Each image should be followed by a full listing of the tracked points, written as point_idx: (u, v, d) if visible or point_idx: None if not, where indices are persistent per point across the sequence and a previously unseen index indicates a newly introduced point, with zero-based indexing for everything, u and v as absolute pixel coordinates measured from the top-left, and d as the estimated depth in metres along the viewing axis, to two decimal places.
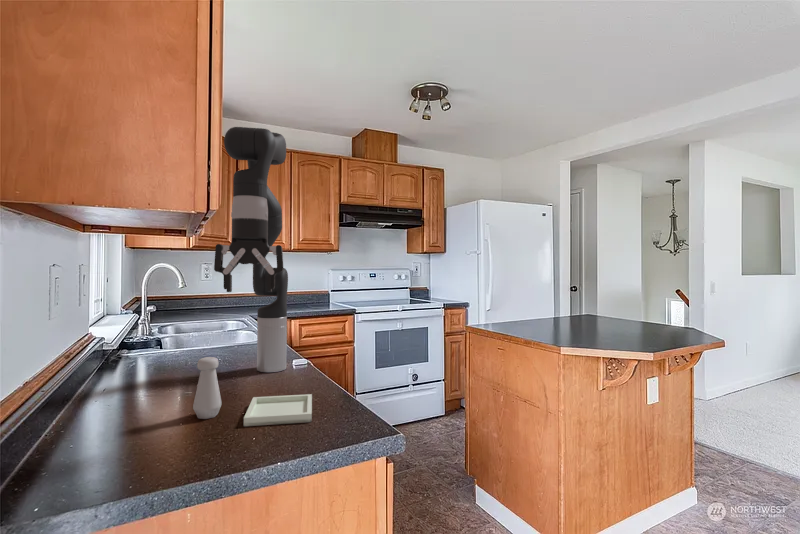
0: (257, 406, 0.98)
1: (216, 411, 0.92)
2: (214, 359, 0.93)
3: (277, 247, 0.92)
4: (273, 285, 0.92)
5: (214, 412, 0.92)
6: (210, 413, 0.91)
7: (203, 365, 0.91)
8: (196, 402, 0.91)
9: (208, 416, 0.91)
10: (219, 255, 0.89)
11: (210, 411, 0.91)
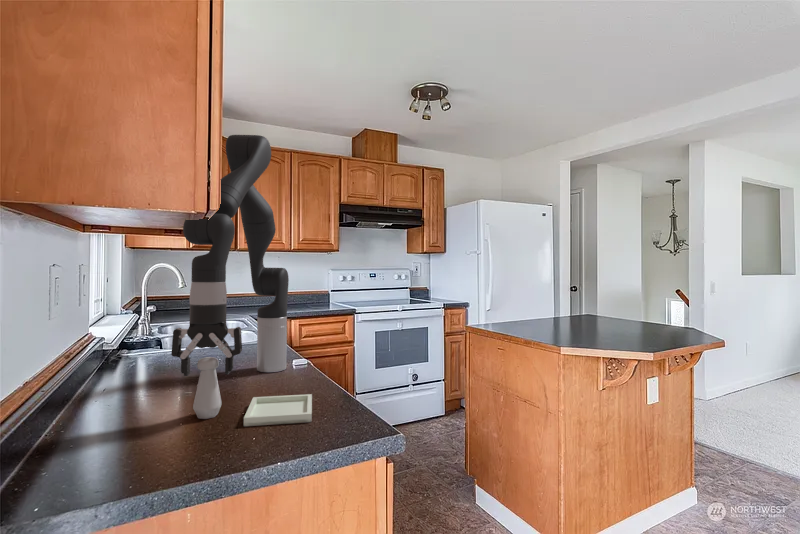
0: (257, 406, 0.98)
1: (216, 411, 0.92)
2: (214, 359, 0.93)
3: (235, 330, 0.93)
4: (231, 367, 0.93)
5: (214, 412, 0.92)
6: (210, 413, 0.91)
7: (203, 365, 0.91)
8: (196, 402, 0.91)
9: (208, 416, 0.91)
10: (176, 340, 0.91)
11: (210, 411, 0.91)
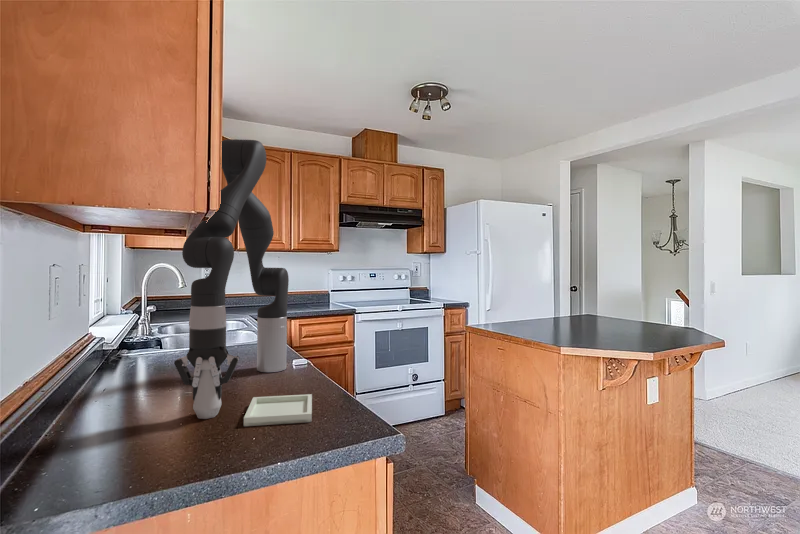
0: (257, 406, 0.98)
1: (216, 411, 0.92)
2: None
3: (233, 359, 0.93)
4: (219, 396, 0.93)
5: (214, 412, 0.92)
6: (210, 413, 0.91)
7: (203, 365, 0.91)
8: (196, 402, 0.91)
9: (208, 416, 0.91)
10: (182, 369, 0.91)
11: (210, 411, 0.91)
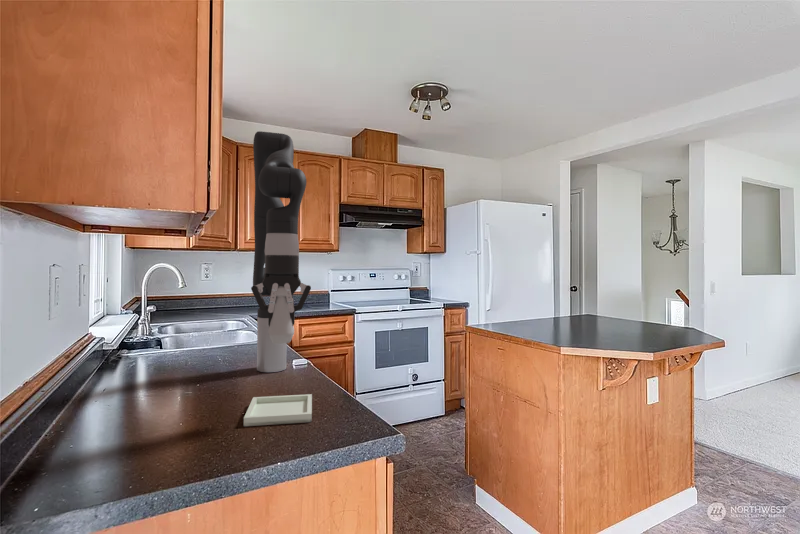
0: (257, 406, 0.98)
1: (290, 337, 0.95)
2: None
3: (307, 287, 0.95)
4: (293, 322, 0.95)
5: (289, 337, 0.94)
6: (285, 338, 0.93)
7: (279, 291, 0.93)
8: (272, 327, 0.93)
9: (283, 341, 0.94)
10: (258, 295, 0.93)
11: (286, 335, 0.93)
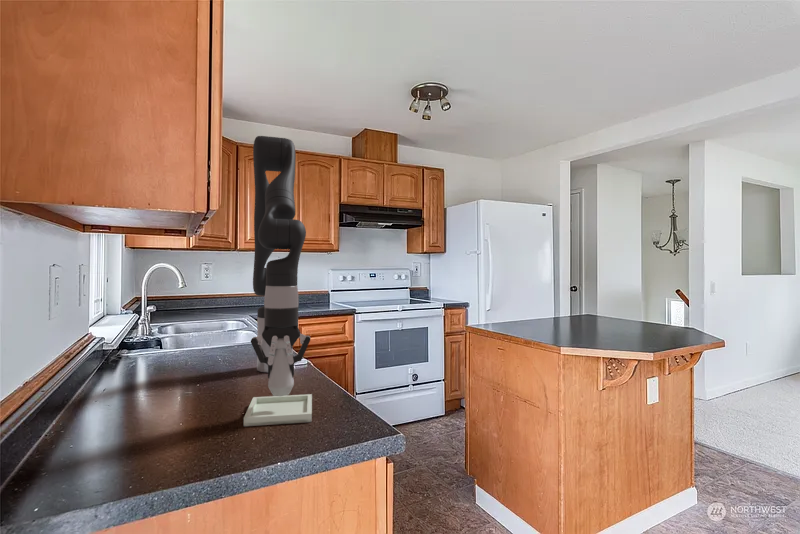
0: (257, 406, 0.98)
1: (290, 389, 0.95)
2: None
3: (306, 338, 0.95)
4: (292, 374, 0.95)
5: (288, 390, 0.94)
6: (285, 391, 0.93)
7: (278, 343, 0.93)
8: (272, 380, 0.93)
9: (283, 393, 0.94)
10: (258, 348, 0.93)
11: (285, 388, 0.93)
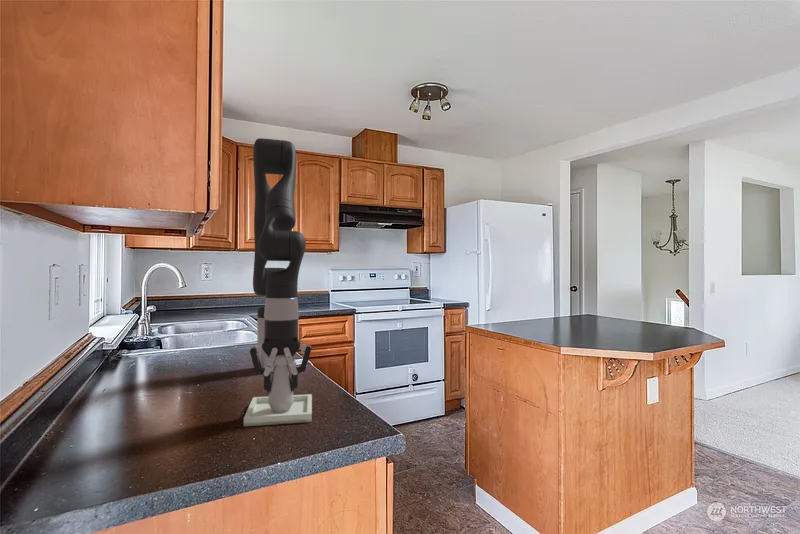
0: (257, 406, 0.98)
1: (290, 405, 0.95)
2: None
3: (307, 348, 0.95)
4: (296, 384, 0.95)
5: (288, 406, 0.94)
6: (285, 407, 0.94)
7: (278, 360, 0.93)
8: (272, 397, 0.93)
9: (283, 410, 0.94)
10: (256, 358, 0.93)
11: (285, 405, 0.93)
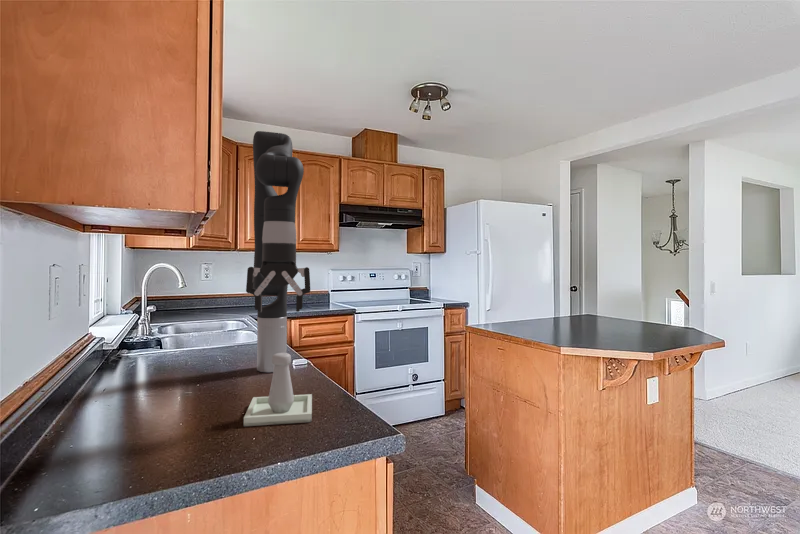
0: (257, 406, 0.98)
1: (290, 405, 0.95)
2: (288, 355, 0.95)
3: (305, 269, 0.96)
4: (301, 305, 0.97)
5: (288, 406, 0.94)
6: (285, 407, 0.94)
7: (278, 360, 0.93)
8: (272, 396, 0.93)
9: (283, 410, 0.94)
10: (251, 277, 0.94)
11: (285, 405, 0.93)
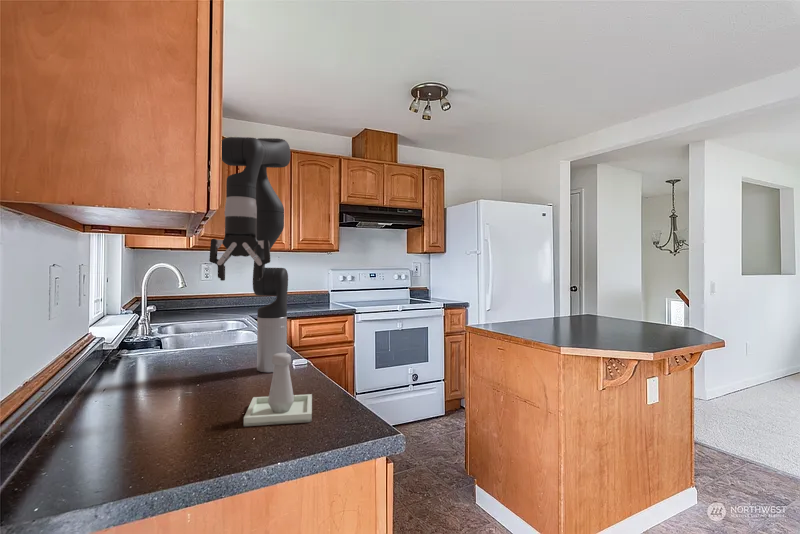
0: (257, 406, 0.98)
1: (290, 405, 0.95)
2: (288, 355, 0.95)
3: (264, 241, 1.05)
4: (261, 275, 1.05)
5: (288, 406, 0.94)
6: (285, 407, 0.94)
7: (278, 360, 0.93)
8: (272, 396, 0.93)
9: (283, 410, 0.94)
10: (214, 248, 1.02)
11: (285, 405, 0.93)
